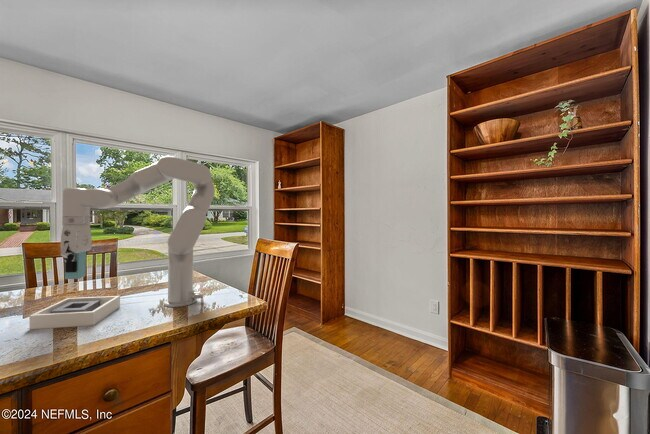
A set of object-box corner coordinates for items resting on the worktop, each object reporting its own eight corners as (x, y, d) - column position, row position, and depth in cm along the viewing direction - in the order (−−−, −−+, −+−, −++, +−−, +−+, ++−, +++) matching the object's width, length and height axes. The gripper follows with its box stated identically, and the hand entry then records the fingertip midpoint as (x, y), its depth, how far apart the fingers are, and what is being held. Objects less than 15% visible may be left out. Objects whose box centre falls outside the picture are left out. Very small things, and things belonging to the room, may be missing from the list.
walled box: (120, 306, 111) (120, 295, 111) (93, 325, 93) (93, 312, 93) (67, 309, 107) (67, 298, 107) (29, 329, 89) (29, 315, 89)
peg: (85, 276, 103) (86, 250, 103) (78, 278, 99) (78, 251, 99) (72, 276, 102) (72, 250, 102) (64, 279, 98) (65, 251, 98)
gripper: (73, 222, 93) (72, 275, 94) (101, 220, 109) (100, 266, 110) (46, 222, 91) (45, 276, 92) (79, 220, 108) (78, 266, 108)
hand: (75, 270), depth 101 cm, fingers closed on peg, 4 cm apart
